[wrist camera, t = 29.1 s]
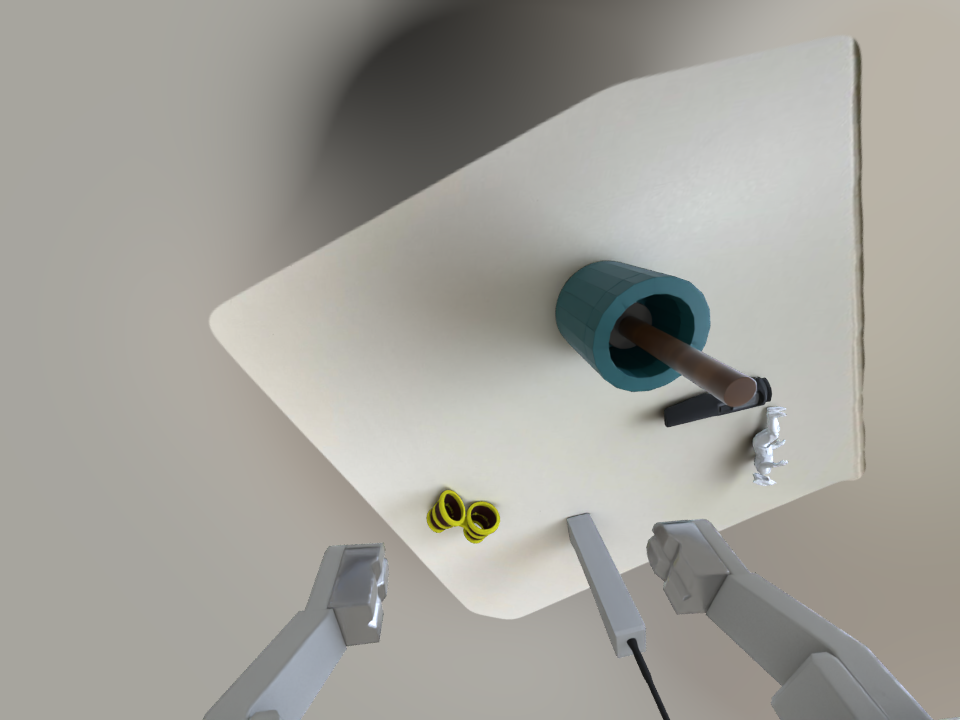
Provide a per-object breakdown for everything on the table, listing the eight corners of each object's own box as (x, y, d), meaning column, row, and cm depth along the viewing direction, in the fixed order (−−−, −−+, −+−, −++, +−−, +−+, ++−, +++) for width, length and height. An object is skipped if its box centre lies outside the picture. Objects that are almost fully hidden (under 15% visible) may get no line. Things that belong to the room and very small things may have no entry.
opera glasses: (426, 502, 51) (422, 535, 47) (442, 483, 48) (438, 515, 44) (482, 520, 54) (483, 552, 49) (499, 502, 51) (502, 535, 47)
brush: (578, 298, 39) (700, 372, 21) (620, 283, 39) (780, 345, 20) (586, 337, 41) (704, 435, 23) (626, 323, 41) (776, 410, 22)
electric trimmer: (654, 401, 47) (667, 414, 44) (762, 373, 47) (783, 384, 44) (654, 423, 49) (668, 436, 46) (759, 396, 49) (779, 407, 46)
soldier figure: (785, 400, 51) (794, 475, 52) (744, 400, 54) (754, 471, 55) (786, 417, 45) (796, 501, 46) (741, 416, 48) (751, 495, 49)
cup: (545, 279, 39) (582, 302, 29) (637, 246, 38) (707, 258, 28) (566, 362, 43) (604, 406, 33) (648, 333, 43) (712, 369, 33)
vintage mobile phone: (569, 538, 56) (657, 759, 33) (566, 517, 54) (657, 737, 31) (590, 532, 56) (693, 750, 33) (588, 511, 54) (696, 727, 31)
